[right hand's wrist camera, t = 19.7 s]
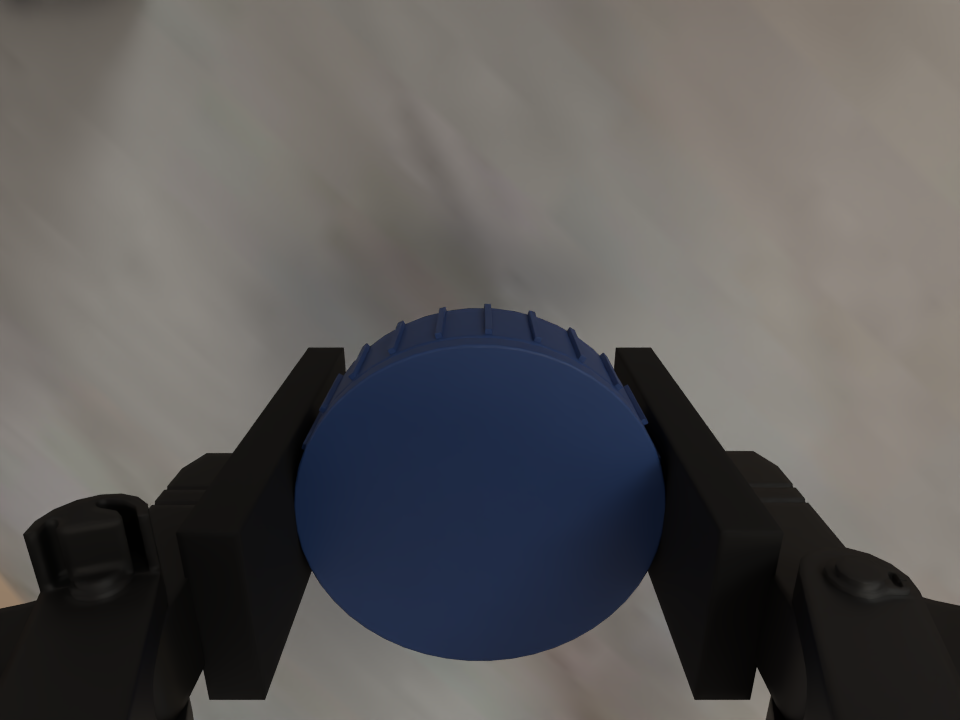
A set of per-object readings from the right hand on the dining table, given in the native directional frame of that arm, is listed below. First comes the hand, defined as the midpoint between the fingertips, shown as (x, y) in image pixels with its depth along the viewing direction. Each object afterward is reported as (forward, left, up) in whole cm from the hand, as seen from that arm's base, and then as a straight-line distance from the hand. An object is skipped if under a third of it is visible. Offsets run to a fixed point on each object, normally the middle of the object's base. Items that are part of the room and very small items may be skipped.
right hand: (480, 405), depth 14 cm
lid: (0, 0, +4) cm, 4 cm away
